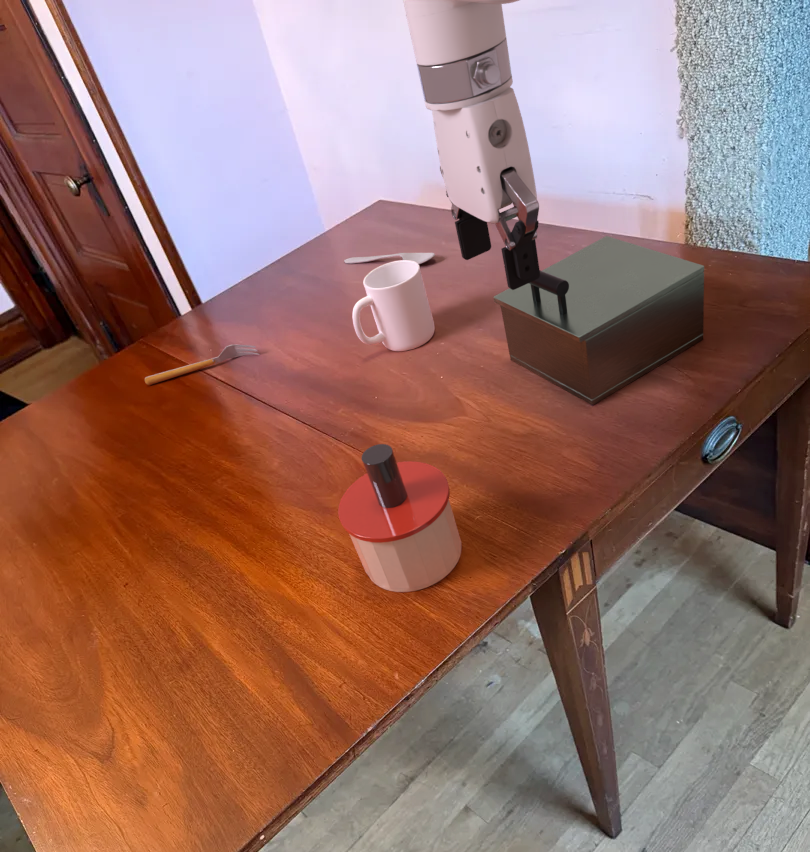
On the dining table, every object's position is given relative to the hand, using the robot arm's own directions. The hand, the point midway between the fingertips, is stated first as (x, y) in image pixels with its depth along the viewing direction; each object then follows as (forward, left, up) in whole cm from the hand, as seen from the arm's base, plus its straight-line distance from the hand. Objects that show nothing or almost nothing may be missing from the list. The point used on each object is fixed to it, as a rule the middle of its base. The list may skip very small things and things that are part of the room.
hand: (499, 268), depth 74 cm
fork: (+56, -24, -21) cm, 65 cm away
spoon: (+31, -54, -21) cm, 66 cm away
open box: (-8, -17, -21) cm, 28 cm away
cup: (+22, -25, -21) cm, 40 cm away
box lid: (-7, -17, -12) cm, 22 cm away
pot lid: (+10, +19, -13) cm, 25 cm away
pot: (+10, +19, -21) cm, 30 cm away
